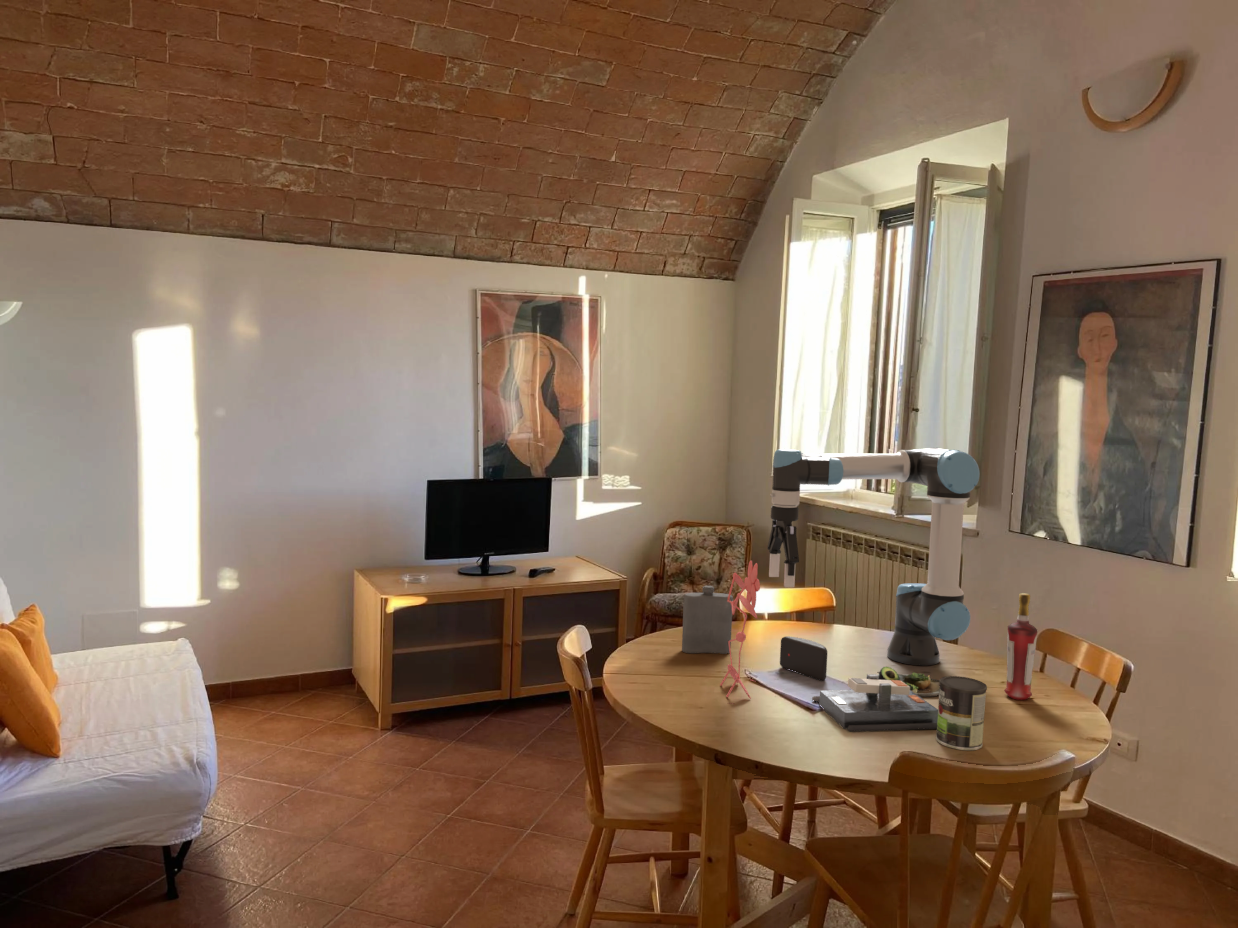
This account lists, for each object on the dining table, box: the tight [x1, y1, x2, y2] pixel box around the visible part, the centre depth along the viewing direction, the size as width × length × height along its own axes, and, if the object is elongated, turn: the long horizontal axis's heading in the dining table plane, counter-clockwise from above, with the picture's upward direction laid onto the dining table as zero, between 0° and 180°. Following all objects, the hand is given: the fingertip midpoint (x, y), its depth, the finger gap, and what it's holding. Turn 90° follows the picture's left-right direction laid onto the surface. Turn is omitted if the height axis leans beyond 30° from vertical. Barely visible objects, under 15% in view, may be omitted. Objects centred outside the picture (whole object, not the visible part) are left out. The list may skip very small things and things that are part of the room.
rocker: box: [847, 677, 910, 695], centre depth 229 cm, size 14×5×2 cm, turn 99°
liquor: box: [1003, 592, 1039, 701], centre depth 247 cm, size 7×7×28 cm
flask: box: [681, 585, 734, 655], centre depth 282 cm, size 15×6×20 cm, turn 93°
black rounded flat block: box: [779, 635, 828, 681], centre depth 263 cm, size 16×5×9 cm, turn 39°
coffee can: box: [935, 675, 988, 752], centre depth 213 cm, size 10×10×14 cm
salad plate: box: [876, 666, 940, 698], centre depth 253 cm, size 19×18×5 cm
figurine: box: [719, 560, 761, 705], centre depth 244 cm, size 15×26×35 cm, turn 4°
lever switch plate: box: [818, 673, 938, 730], centre depth 229 cm, size 24×16×9 cm, turn 99°
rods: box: [811, 695, 937, 732], centre depth 230 cm, size 24×22×1 cm
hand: (781, 581), depth 256 cm, fingers open, 13 cm apart
